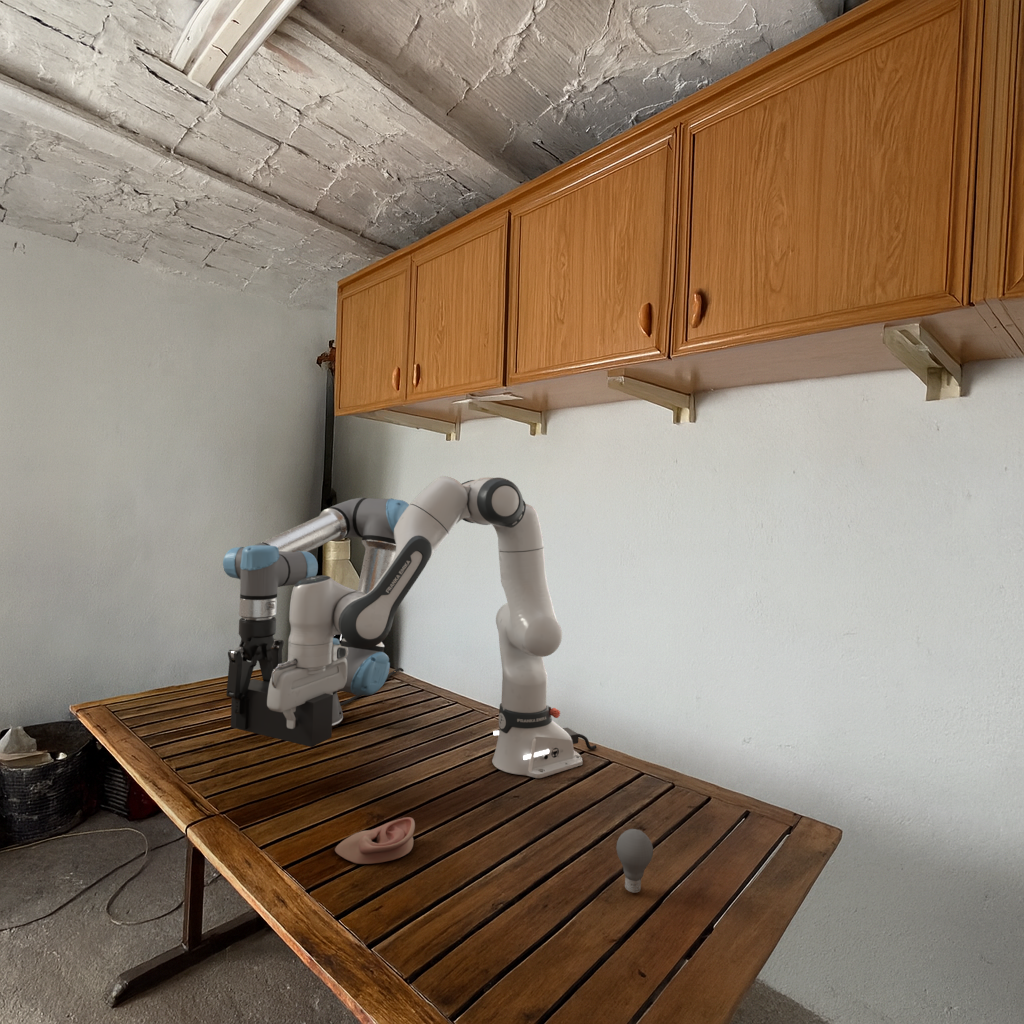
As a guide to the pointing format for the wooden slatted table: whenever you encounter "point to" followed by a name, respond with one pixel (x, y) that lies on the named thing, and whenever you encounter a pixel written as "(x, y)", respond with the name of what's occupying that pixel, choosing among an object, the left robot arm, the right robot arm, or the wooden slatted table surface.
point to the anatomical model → (379, 843)
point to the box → (274, 724)
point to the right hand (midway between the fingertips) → (307, 720)
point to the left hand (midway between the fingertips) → (254, 722)
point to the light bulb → (634, 857)
